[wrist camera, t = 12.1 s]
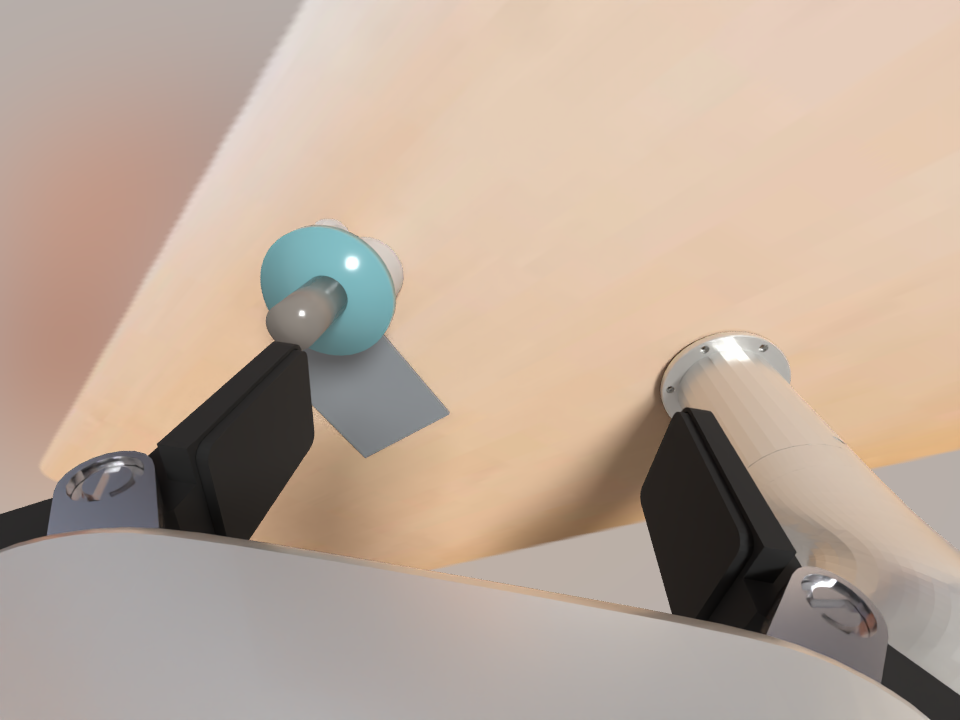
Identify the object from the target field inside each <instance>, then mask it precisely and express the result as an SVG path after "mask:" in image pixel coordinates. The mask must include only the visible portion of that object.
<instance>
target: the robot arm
mask: <svg viewBox="0 0 960 720" xmlns="http://www.w3.org/2000/svg"><path fill="white" fill-rule="evenodd" d="M703 346H704V347H703ZM790 382H791V369H790V365H789V362H788V360H787V358H786V357H785V355H784V353H783V352H782V351H781V350H780V349H779V348H778V347H777V346H776V345H775V344H773V343H772V342H771V341H769V340H768V339H766V338H764V337H762V336H759V335H757V334H752V333H748V332H736V331H732V332H723V333H718V334H714V335H710V336H707V337H705V338H702V339H700V340H698V341H696V342H694V343H692V344H691V345H689V346H688V347H686V348H685V349H683V350H682V351H681V352H680V353H679V354H678V355H676V357H675V358H674V359H673V360H672V361H671V363H670V364H669V365H668V367H667V369H666V371H665V372H664V375H663V378H662V381H661V388H660V394H661V400H662V403H663V405H664V408H665V410H666V412H667V413H668V415H669V417H670V418H671V422H670V424H669V426H668V429H667V431H666V433H665V435H664V438H663V440H662V442H661V445H660V447H659V449H658V452H657V454H656V456H655V459H654V461H653V463H652V466H651V468H650V470H649V472H648V475H647V477H646V479H645V482H644V484H643V486H642V489H641V495H640V499H641V505H642V508H643V512H644V516H645V519H646V523H647V526H648V530H649V533H650V537H651V541H652V544H653V548H654V551H655V555H656V558H657V562H658V566H659V569H660V573H661V576H662V580H663V583H664V587H665V591H666V594H667V597H668V601H669V605H670V608H671V612H672V614H668V613H663V612H658V611H653V610H648V609H642V608H637V607H631V606H626V605H620V604H615V603H609V602H604V601H598V600H593V599H587V598H582V597H576V596H571V595H565V594H559V593H554V592H549V591H543V590H538V589H532V588H526V587H521V586H515V585H509V584H503V583H498V582H492V581H487V580H481V579H475V578H470V577H464V576H458V575H452V574H446V573H441V572H435V571H430V570H424V569H418V568H412V567H407V566H401V565H395V564H389V563H383V562H378V561H372V560H366V559H360V558H354V557H348V556H342V555H336V554H330V553H324V552H318V551H313V550H307V549H301V548H295V547H289V546H283V545H277V544H271V543H264V542H258V541H251V540H249V539H250V538H251V536H252V535H253V533H254V532H255V530H256V529H257V527H258V526H259V524H260V523H261V521H262V520H263V518H264V517H265V515H266V514H267V512H268V511H269V509H270V508H271V506H272V505H273V503H274V502H275V500H276V499H277V497H278V496H279V494H280V493H281V491H282V490H283V488H284V487H285V485H286V484H287V482H288V481H289V479H290V478H291V476H292V475H293V473H294V472H295V470H296V469H297V467H298V466H299V464H300V463H301V461H302V460H303V458H304V457H305V455H306V454H307V452H308V451H309V449H310V447H311V446H312V443H313V440H314V424H313V412H312V401H311V390H310V378H309V367H308V356H307V353H306V352H305V351H301V348H300V346H299V345H298V344H291V343H285V342H279V341H274V342H273V343H271V344H270V345H269V346H268V347H267V348H266V349H264V350H263V351H262V352H261V353H260V354H259V355H258V356H256V357H255V358H254V359H253V360H252V361H251V362H250V363H248V364H247V365H246V366H245V367H244V368H243V369H242V370H240V371H239V372H238V373H237V374H236V375H235V376H234V377H232V378H231V379H230V380H229V381H228V382H227V383H226V384H224V385H223V386H222V387H221V388H220V389H219V390H218V391H217V392H215V393H214V394H213V395H212V396H211V397H210V398H209V399H207V400H206V401H205V402H204V403H203V404H202V405H201V406H199V407H198V408H197V409H196V410H195V411H194V412H193V413H191V414H190V415H189V416H188V417H187V418H186V419H185V420H183V421H182V422H181V423H180V424H179V425H178V426H177V427H176V428H174V429H173V430H172V431H171V432H170V433H169V434H168V435H166V436H165V437H164V438H163V439H162V440H161V441H160V442H158V443H157V446H158V447H157V448H156V449H155V450H154V451H153V452H152V453H151V454H150V455H148V456H147V455H146V454H144V453H140V452H136V451H119V452H113V453H107V454H104V455H101V456H98V457H95V458H92V459H90V460H88V461H86V462H83V463H81V464H79V465H78V466H76V467H75V468H73V469H72V470H70V471H69V472H68V473H66V474H65V475H64V476H63V477H62V479H61V480H60V481H59V482H58V483H57V485H56V488H55V490H54V494H53V498H51V499H48V500H44V501H42V502H38V503H35V504H32V505H28V506H25V507H22V508H19V509H15V510H13V511H9V512H6V513H3V514H0V720H960V551H959V550H958V549H956V548H955V547H954V546H953V545H952V544H950V543H949V542H948V541H947V540H945V539H944V538H943V537H942V536H941V535H939V534H938V533H937V532H936V531H935V530H934V529H933V528H931V527H930V526H929V525H928V524H927V523H926V522H924V521H923V520H922V519H921V518H920V517H919V516H917V515H916V514H915V513H914V512H913V511H912V510H911V509H910V508H909V507H908V506H907V505H906V504H905V503H904V502H903V501H902V500H901V499H900V498H899V497H898V496H897V495H896V494H895V493H894V492H893V491H891V489H890V488H888V487H887V486H886V485H885V484H884V483H883V482H882V481H881V480H880V479H879V478H878V477H877V476H876V475H875V474H874V472H873V471H872V470H871V469H870V468H869V467H868V466H867V465H866V464H865V463H864V462H863V461H862V460H861V459H860V458H859V457H858V456H857V455H856V454H855V453H854V451H853V450H852V449H851V448H850V447H849V446H848V445H847V444H846V443H845V442H844V441H843V440H842V439H841V438H840V437H839V436H838V435H837V434H836V433H835V432H834V430H833V429H832V428H831V427H830V426H829V425H828V424H827V423H826V422H825V421H824V420H823V419H822V418H821V417H820V416H819V415H818V414H817V413H816V412H815V411H814V409H813V408H812V407H811V406H810V405H809V404H808V403H807V402H806V401H805V400H804V399H803V398H802V397H801V396H800V395H799V394H798V393H797V392H796V391H795V390H794V388H793V387H792V386H791V385H790Z"/></svg>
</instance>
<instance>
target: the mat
mask: <svg viewBox="0 0 960 720" xmlns="http://www.w3.org/2000/svg"><path fill="white" fill-rule="evenodd" d="M302 351H305V352H306V353H307V356H308V367H309V378H310V390H311V401H312V405H313V406H314V407H315V408H316V409H317V410H318V411H319V412H320V413H321V414H322V415H323V416H324V417H325V418H326V419H327V420H328V421H329V422H330V423H331V424H332V425H333V426H334V427H335V428H336V429H337V430H338V431H339V432H340V433H341V434H342V435H343V436H344V437H345V438H346V439H347V440H348V441H349V442H350V443H351V444H352V445H353V446H354V447H355V448H356V449H357V450H358V451H359V452H360V453H361V454H362V455H363V456H364V457H365V458H366V457H368V456H370V455H372V454H374V453H376V452H378V451H380V450H382V449H384V448H386V447H388V446H389V445H391V444H393V443H395V442H397V441H399V440H401V439H403V438H405V437H407V436H409V435H411V434H412V433H414V432H416V431H418V430H420V429H422V428H424V427H426V426H428V425H430V424H432V423H434V422H435V421H437V420H439V419H441V418H443V417H445V416H447V415H449V413H450V412H449V411H448V410H447V409H446V407H445V406H444V405H443V404H442V403H441V401H440V400H439V399H438V398H437V397H436V396H435V394H434V393H433V392H432V391H431V390H430V389H429V387H428V386H427V385H426V384H425V383H424V381H423V380H422V379H421V378H420V377H419V376H418V374H417V373H416V372H415V371H414V370H413V368H412V367H411V366H410V365H409V364H408V363H407V361H406V360H405V359H404V358H403V357H402V355H401V354H400V353H399V352H398V351H397V350H396V348H395V347H394V346H393V345H392V344H391V342H390V341H389V340H388V339H387V338H386V337H385V335H384V334H383V336H382V337H381V338H380V339H379V340H378V342H377V343H375V344H374V345H373V346H371V347H370V348H368V349H366V350H365V351H362V352H359V353H356V354H352V355H343V356H340V355H329V354H324V353H320V352H317V351H314V350H312V349H310V348H307V349H304V350H302Z"/></svg>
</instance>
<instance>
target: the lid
mask: <svg viewBox="0 0 960 720" xmlns="http://www.w3.org/2000/svg"><path fill="white" fill-rule="evenodd" d="M261 289H262V294H263V297H264V300H265V303H266V305H267V308H268V310H269V312H268V314H267V316H266V326H267V329H268V331H269V333H270V335H271V336H272V338H273V339H274V340H275V341H279V342H285V343H291V344H298V345H299V346H300V348H301V350H304V349H307V348H310V349H312V350H314V351H317V352H320V353H324V354H329V355H340V356H343V355H352V354H356V353H359V352H362V351H365V350H366V349H368V348H370V347H371V346H373V345H374V344H375V343H377V342H378V340H379V339H380V338H381V337H382V336H383V334H384V333H385V331H386V330H387V329H388V327H389V326H390V323H391V321H392V319H393V316H394V313H395V307H396V293H395V287H394V283H393V279H392V277H391V274H390V272H389V270H388V268H387V266H386V264H385V263H384V261H383V260H382V258H381V257H380V256H379V255H378V253H377V252H376V251H375V250H374V249H373V248H372V247H371V246H370V245H369V244H367V243H366V242H365V241H364V240H362V239H361V238H359V237H358V236H356V235H354V234H352V233H351V232H348V231H346V230H343V229H341V228H337V227H333V226H327V225H311V226H305V227H302V228H298V229H296V230H294V231H292V232H290V233H288V234H286V235H284V236H282V237H281V238H280V239H278V240H277V241H276V242H275V243H274V244H273V245H272V246H271V247H270V249H269V250H268V252H267V254H266V256H265V258H264V260H263V264H262V267H261Z"/></svg>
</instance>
